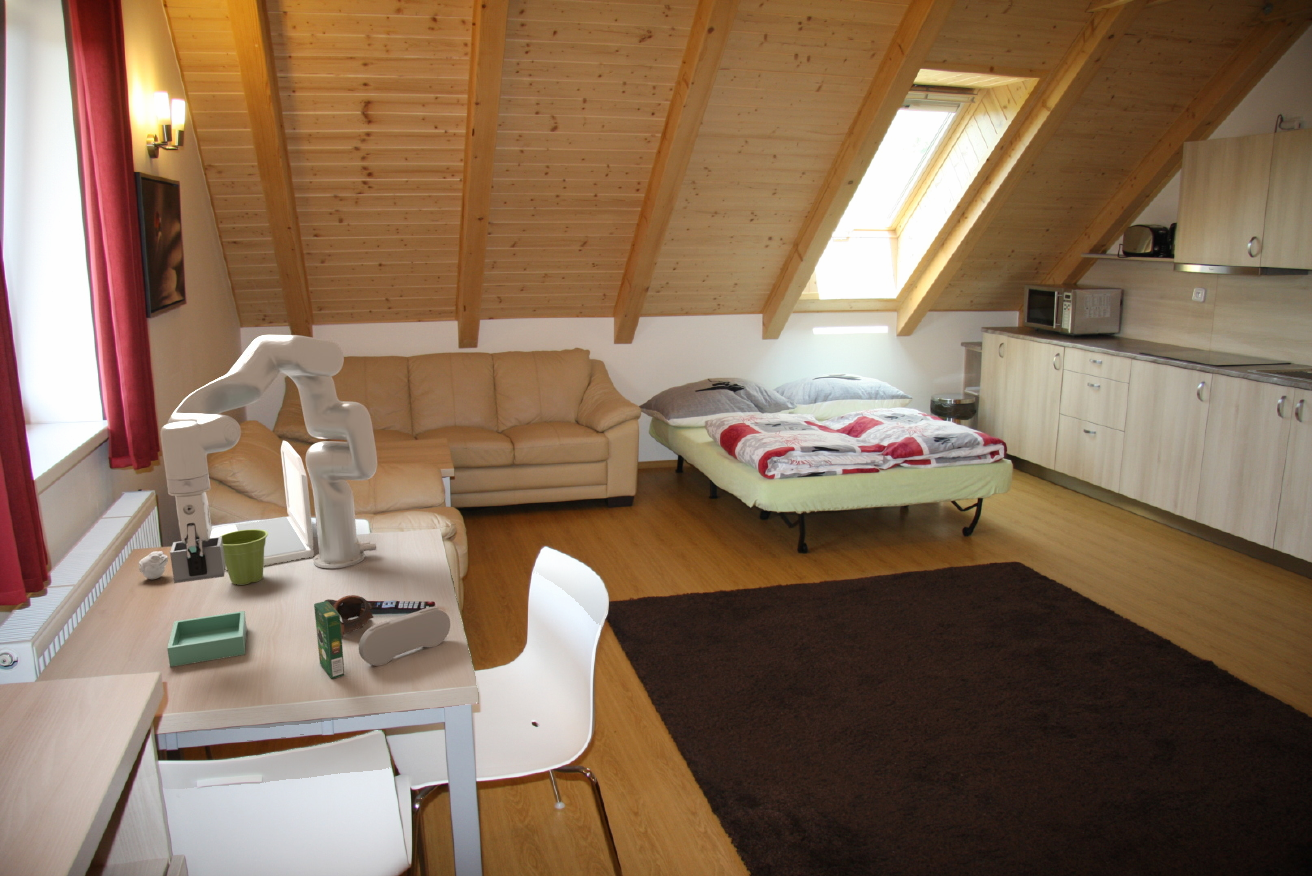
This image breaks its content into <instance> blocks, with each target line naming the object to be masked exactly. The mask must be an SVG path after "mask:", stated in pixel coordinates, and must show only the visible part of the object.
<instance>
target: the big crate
mask: <svg viewBox="0 0 1312 876" xmlns="http://www.w3.org/2000/svg"><path fill="white" fill-rule="evenodd" d="M247 628H248V627H247V619H246V610H239V611H234V612H227V613H221V614H220V613H219V614H215V615H208V616H201V617H195V618H186V619H180V620H174V621H173V624H172V629H171V632H170V635H169V636H170V637H169V640H168V644H167V649H166V650H167V655H168V656H167V657H168V663H169V667H171V668H172V667H177V665H178V666H183V665H190V664H195V663H194V662H196V663H200V662H199V661H202V662H208V661H213V660H218V659H219V658H220V659H224V658H223V657H226V658H230V657H229V656H232V657H238V655H239V656H245V654H246V644H247V643H246V642H247ZM220 659H219V660H220ZM189 663H190V664H189Z"/></svg>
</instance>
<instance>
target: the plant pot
mask: <svg viewBox="0 0 1312 876" xmlns="http://www.w3.org/2000/svg"><path fill="white" fill-rule="evenodd" d="M267 535H268V532H266V531H265V530H259V529H249V530H240V531H234V532H230V533H226V534H223V535H221V536H222V541H223V549H224V557H225V564H226V567H227V570H228V571H227V570H226V571H227V573H228V576H229V579H230V582H231V583H232V584H233V585H236V584H237V586H240V585H242V586H243V585H244V586H245V585H248V584H250V583H257V582H259V581H261V580H262V579H263V577H264V566H263V564H264V546H265V541H266V537H267ZM221 536H219V537H221Z"/></svg>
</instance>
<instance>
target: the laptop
mask: <svg viewBox="0 0 1312 876" xmlns="http://www.w3.org/2000/svg"><path fill="white" fill-rule="evenodd" d="M280 456H281V465H282V473H283V474H282V475H283V485H284V492H285V493H284V495H285V502H286V512H287V515H288V516H281V517H275V518H274V517H273V518H269V519H268V518H267V519H262V520H254V521H248V522H242V523H236V524H232V525H226V526H220V527H215V528H213V529H212V531H211V536H210V538H213V537H219V536H221V535H223V534H226V533H230V532H234V531H240V530H249V529H259V530H265V531H266V532H268V535H267V537H266V541H265V546H264V564H263V567H265V565H266V566H270V565H269V564H271V565H274V564H273V563H277V564H280V563H279V562H283V563H286V562H287V561H288V562H292V561H291V560H294V561H297V560H296V559H299V560H302V559H301V558H305V559H309V557H310V558H314V557H315V552H314V551H315V550H314V544H315V543H314V535H313V533H314V532H313V524H312V516H311V504H310V497H309V496H310V493H309V485H308V484H309V483H308V476H307V472H306V470H305V466H304V463H303V460H302V457H301V456H300V455H299V453H297V451H296V450H295V449H294V448H293V446H292V445H291V444H290V443H289V442H288V441H286V440H282V443H281V447H280ZM255 521H257V522H255ZM258 521H259V522H258ZM313 556H314V557H313ZM288 562H287V563H288ZM225 565H226V564H225ZM225 569H226V570H225V571H227V567H225Z"/></svg>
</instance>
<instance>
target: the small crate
mask: <svg viewBox="0 0 1312 876" xmlns="http://www.w3.org/2000/svg"><path fill="white" fill-rule="evenodd" d="M196 541H199V539H197V540H196ZM202 545H203V555H205V559H206V567H207V574H206V575H199V576H189V570H188V562H187V557H188V556H187V545H186V544H184V543H183V542H182V540H181V541H180V540H179V541H173V542H172V545H171V548H170V551H169V555H170V563H171V570H172V577H173V583H174V584H180V583H188V582H189V583H190V582H194V581H202V580H208V579H209V580H210V579H216V578H223V577H225V573H226V570H225V567H226V565H225V557H224V549H223V541H222V536H221V537H213V538H210V539H209V540H208V541H207V542H206V541H205V540H204V541H202ZM196 546H198V547H199V544H196Z"/></svg>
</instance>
